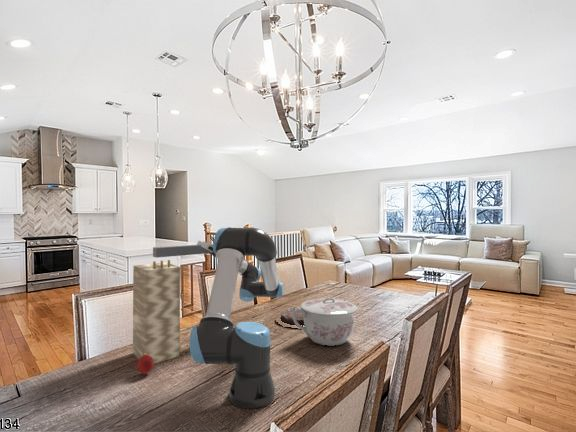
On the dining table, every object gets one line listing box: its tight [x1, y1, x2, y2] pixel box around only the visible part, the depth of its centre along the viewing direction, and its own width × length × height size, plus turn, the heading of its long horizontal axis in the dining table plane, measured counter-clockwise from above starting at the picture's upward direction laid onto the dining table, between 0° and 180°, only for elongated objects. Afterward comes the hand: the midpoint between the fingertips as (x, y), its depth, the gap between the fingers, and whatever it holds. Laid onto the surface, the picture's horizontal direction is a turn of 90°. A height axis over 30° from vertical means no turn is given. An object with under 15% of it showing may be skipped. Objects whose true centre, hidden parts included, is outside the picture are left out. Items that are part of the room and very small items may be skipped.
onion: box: [136, 353, 155, 375], centre depth 120 cm, size 6×6×8 cm
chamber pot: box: [292, 297, 359, 347], centre depth 154 cm, size 28×28×21 cm
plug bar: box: [152, 243, 214, 259], centre depth 145 cm, size 27×4×4 cm, turn 132°
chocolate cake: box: [280, 306, 304, 326], centre depth 183 cm, size 28×28×7 cm
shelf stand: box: [132, 259, 181, 365], centre depth 137 cm, size 14×16×41 cm
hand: (200, 243), depth 150 cm, fingers closed on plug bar, 4 cm apart
